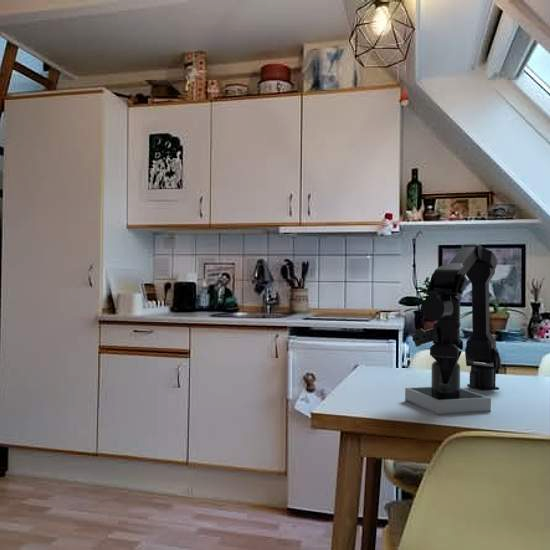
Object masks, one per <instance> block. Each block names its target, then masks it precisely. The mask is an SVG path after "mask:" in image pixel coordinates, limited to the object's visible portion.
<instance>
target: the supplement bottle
mask: <svg viewBox="0 0 550 550" xmlns="http://www.w3.org/2000/svg"><path fill="white" fill-rule="evenodd" d="M430 382H431V383H430V384H431V385H430V387H431V395H432V397H433V398H435V399H438V400H447V399H460V388H461V366H460V363H458V362H456V365H455V367H454V369H453V372H452V374H451V377H450V379H449V382H448V384H444V383H443V381H442V377H441V372H440V368H439V363H438V362H437V361H436V360H435V361H433V362H432V363H431V381H430Z"/></svg>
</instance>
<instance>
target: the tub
mask: <svg viewBox="0 0 550 550" xmlns="http://www.w3.org/2000/svg"><path fill="white" fill-rule="evenodd" d="M404 390H405V391H404V392H405V393H404V394H405V395H404V396H405V398H404V401H405V402H406V403H408V404H411V405H412V406H415V407H418V408H420V409H423V410H425V411H427V412H430V413H431V414H434V415H436V416H447V415H458V414H459V415H460V414H462V415H463V414H475V413H486V412H487V411H488V412H492V411H491V409H492V405H491V404H492V398H491V397H489V396H485V395H482V394H481V393H477V392H473V391H472V390H467V389H465V388H462V387H460V399H447V400H438V399H435V398H433V397H432V395H431V386H422V387H421V386H418V387H417V386H416V387H415V386H414V387H405V389H404ZM488 412H487V413H488Z"/></svg>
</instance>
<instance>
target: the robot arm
mask: <svg viewBox="0 0 550 550" xmlns="http://www.w3.org/2000/svg"><path fill="white" fill-rule="evenodd" d="M497 262H498V260H497V257H496V255H495V254H494V252H493V251H491V250H489V249H486V248H484V247H483V246H482V245H481V244H478V243H465V244H461V245H460V247H459V251H458V252H457V253H456V254H455V255H454V257H453V258H452V259H451V260H450V262H448V263H447V264H444V265H440V266H438V267H437V268H436V269H434V272H433V273H432V274H431V277H430V281H429V283H428V286H427V289H426V290H427V291H426V293H425V295H426V296H428V297H426V298H425V299H424V300H423V301H422V303H421V305H420V312H421V315H422V316H423V317H424V319H426V320H428V321H431V322H433V321H435V322H434V323H433V326H432V328H428V329H423V328H422V327H421V328H419V329H416V330H414V333H413V334H412V335H411V337H412V341H413V342H414V345H415V347H420V346H422V345H424V344H429V343H430V342H432V344H433V345H431V346H430V347H429V356H430V357H431V358H433V359H434V360H435V361H437V362H438V363H439V368H440V372H441V377H442V381H443V383H444V384H448V382H449V379H450V377H451V374H452V372H453V369H454V367H455V365H456V362H457V363H458V362H459V359H460V357H461V355H462V350H463V349H464V355H465V357H464V358H465V364H466V367H470V371H469V383H467V384H466V386H467V387H470V388H473V389H476V390H479V391H491V390H500V387H499V386H496V376H497V375H496V373H497V372H496V371H497V370H501V369H502V359H501V357H500V352H499V350H498V348H497V343H496V340H495V338H494V337H493V335H492V334H491V331H490V327H491V326H490V325H491V324H490V282H491V280H492V279H493V278H494V277H493V276H495V272H496V268H497V264H498V263H497ZM468 280H469V281H470V283H471V311H472V312H471V313H472V314H471V316H472V317H471V325H472V334H470V336H469V338H468V339H467V340H466V344H465V345H466V346H465V348H464V341H463V340H462V339H461V337H460V334H461V332H460V331H461V329H460V328H461V320H460V319H461V300H462V296H461V295H462V294H463V293H464V291H465V287H466V285H467V282H468Z"/></svg>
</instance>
